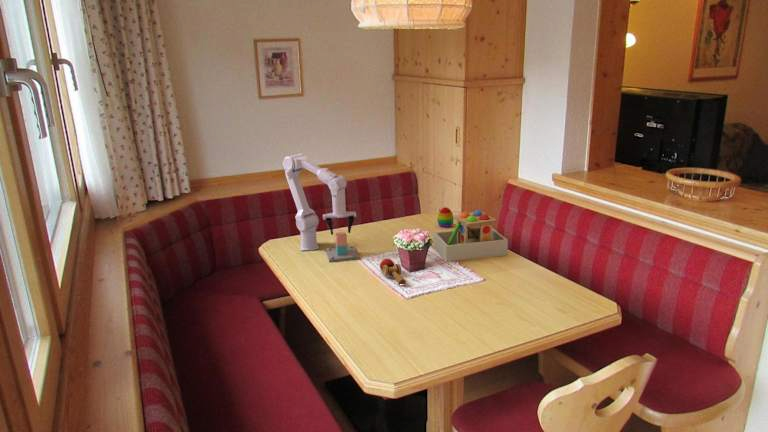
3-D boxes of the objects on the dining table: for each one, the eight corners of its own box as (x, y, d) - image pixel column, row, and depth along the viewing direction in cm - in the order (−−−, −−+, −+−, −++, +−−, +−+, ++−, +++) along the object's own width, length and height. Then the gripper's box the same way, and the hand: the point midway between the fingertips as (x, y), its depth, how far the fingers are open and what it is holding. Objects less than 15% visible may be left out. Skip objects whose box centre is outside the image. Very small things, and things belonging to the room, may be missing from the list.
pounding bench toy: (449, 261, 235) (449, 221, 230) (435, 250, 248) (435, 212, 243) (496, 253, 242) (497, 215, 237) (480, 243, 255) (481, 206, 250)
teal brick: (336, 250, 248) (335, 241, 247) (345, 249, 249) (345, 240, 247) (337, 255, 242) (337, 246, 241) (347, 254, 243) (347, 245, 242)
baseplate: (325, 251, 251) (325, 247, 251) (353, 248, 254) (353, 244, 253) (329, 262, 238) (329, 258, 238) (358, 259, 241) (358, 255, 240)
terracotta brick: (335, 241, 246) (335, 232, 245) (345, 240, 247) (344, 231, 246) (337, 246, 241) (336, 236, 240) (347, 245, 242) (346, 235, 240)
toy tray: (433, 246, 253) (433, 232, 250) (490, 240, 258) (490, 226, 256) (446, 261, 235) (446, 246, 233) (507, 254, 240) (507, 239, 238)
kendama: (412, 286, 215) (393, 265, 230) (411, 273, 212) (391, 252, 227) (395, 293, 213) (377, 271, 228) (393, 280, 210) (374, 258, 225)
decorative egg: (456, 227, 278) (456, 208, 275) (441, 229, 276) (441, 210, 273) (449, 223, 285) (449, 204, 282) (435, 224, 283) (435, 206, 280)
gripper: (323, 207, 234) (325, 237, 238) (356, 204, 236) (358, 234, 241) (321, 203, 240) (323, 232, 244) (354, 200, 243) (355, 229, 247)
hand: (340, 233), depth 243 cm, fingers open, 7 cm apart
